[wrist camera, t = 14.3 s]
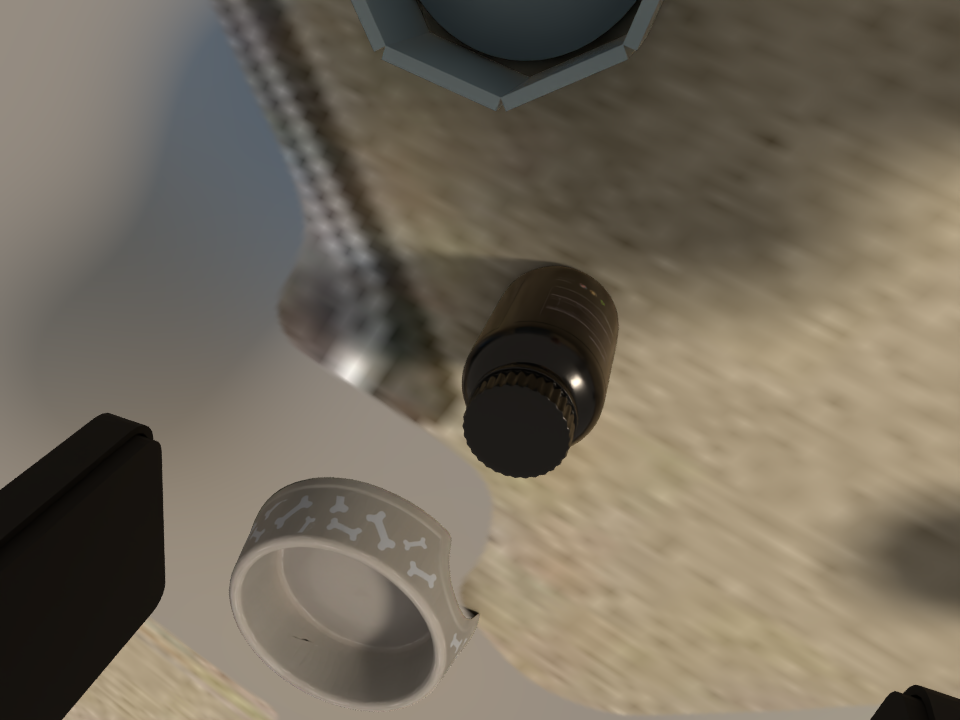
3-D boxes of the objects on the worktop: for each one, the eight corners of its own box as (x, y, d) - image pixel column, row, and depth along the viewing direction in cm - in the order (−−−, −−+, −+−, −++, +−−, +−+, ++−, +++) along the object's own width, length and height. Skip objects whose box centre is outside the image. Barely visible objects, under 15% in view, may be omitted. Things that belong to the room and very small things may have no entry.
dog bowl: (310, 667, 64) (279, 723, 59) (218, 486, 57) (175, 533, 52) (504, 666, 58) (486, 729, 53) (428, 464, 51) (400, 515, 46)
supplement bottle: (569, 394, 45) (526, 525, 35) (477, 322, 45) (407, 434, 34) (648, 315, 42) (627, 435, 32) (550, 236, 41) (496, 331, 31)
